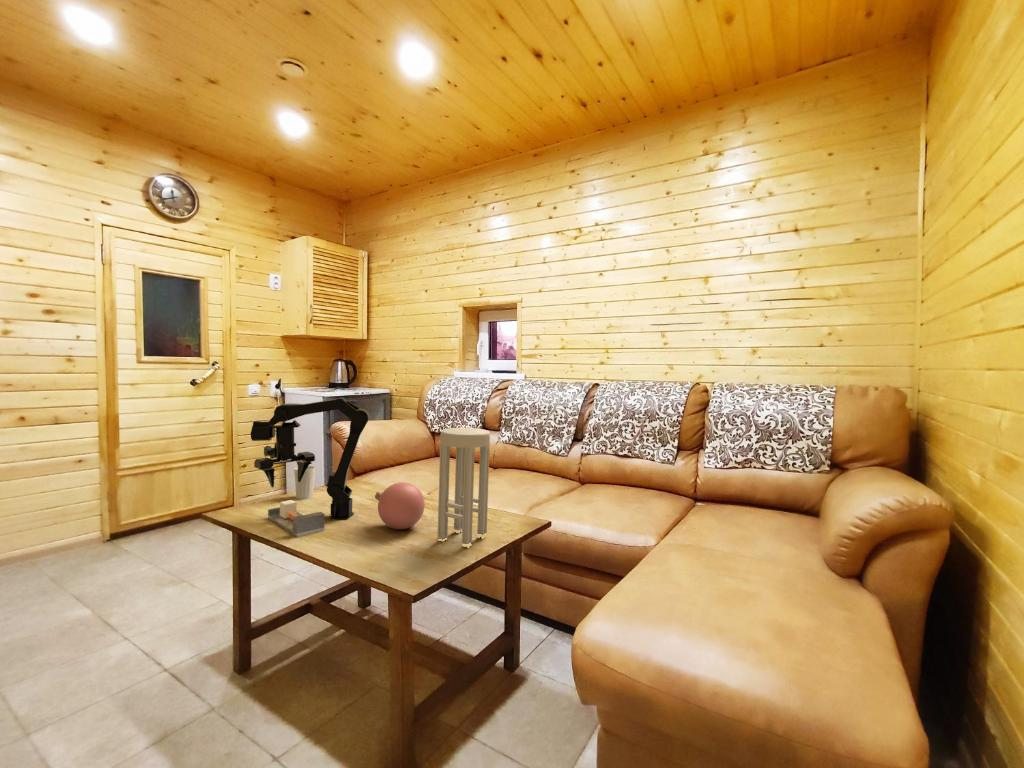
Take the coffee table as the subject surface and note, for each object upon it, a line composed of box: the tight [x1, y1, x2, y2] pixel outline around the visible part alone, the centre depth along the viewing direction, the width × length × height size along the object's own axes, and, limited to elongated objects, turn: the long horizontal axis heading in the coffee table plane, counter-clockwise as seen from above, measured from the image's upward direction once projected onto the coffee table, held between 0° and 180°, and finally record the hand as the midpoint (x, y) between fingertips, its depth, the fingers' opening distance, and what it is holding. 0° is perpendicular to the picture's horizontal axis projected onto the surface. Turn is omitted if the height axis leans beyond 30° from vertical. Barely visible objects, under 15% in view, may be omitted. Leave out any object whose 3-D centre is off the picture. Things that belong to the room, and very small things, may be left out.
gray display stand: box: [267, 506, 325, 538], centre depth 161 cm, size 24×9×6 cm, turn 47°
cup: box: [293, 465, 316, 501], centre depth 192 cm, size 8×8×12 cm
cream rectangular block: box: [279, 499, 298, 520], centre depth 164 cm, size 9×4×5 cm, turn 47°
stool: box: [437, 427, 491, 544], centre depth 152 cm, size 16×16×35 cm
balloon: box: [374, 481, 426, 530], centre depth 162 cm, size 15×20×15 cm
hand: (286, 484), depth 166 cm, fingers open, 9 cm apart
